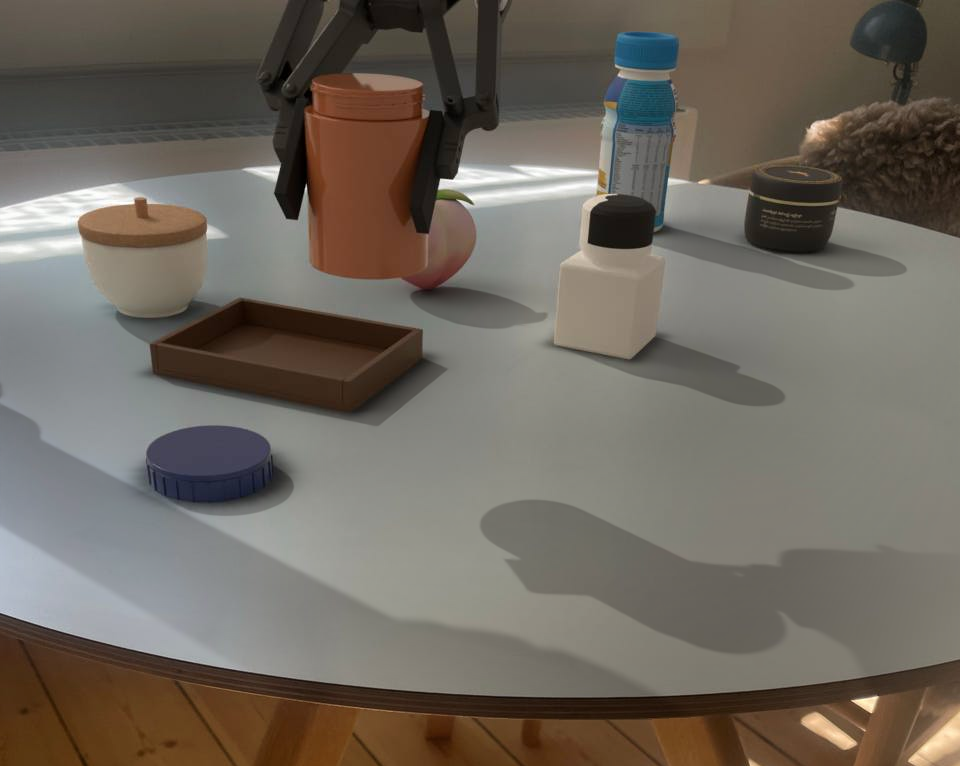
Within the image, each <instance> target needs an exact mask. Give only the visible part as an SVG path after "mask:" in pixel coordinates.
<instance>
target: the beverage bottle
mask: <svg viewBox="0 0 960 766" xmlns="http://www.w3.org/2000/svg"><path fill="white" fill-rule="evenodd" d="M679 41H680V38H679V37H678V36H677V35H674V34H669V33H663V32H656V31H655V32H654V31H623V32H619V33H618V34H617V37H616V41H615V52H614V67H615V68H616V69H618V70H619V72H618V74H617V75H616V76H615V77H614V78H613V80H612V82H611V84H610V85H609V87H608V89H607V91H606V94H605V97H604V99H603V106H604V108H605V115H604V117H603V118H602V120H601V122H600V127H599V136H600V138H601V139H600V149H599V162H598V173H597V183H596V184H597V187H596V195H595V196H598V195H603V194H624V195H631V196H636V197H640V198H642V199H644V200H646V201H648V202H649V203H651V204H652V205H653V206H654V208H655V209H656V217H655V225H654V233H657V232H658V231H660V230H661V229H662V228H663V226H664V222H665V221H664V220H665V207H666V200H667V199H666V198H667V191H668V185H669V177H670V170H671V161H672V153H673V147H674V142H675V139H676V136H677V125H676V123H675V115H676V113H677V112H678V111H679V99H678V94H677V91H676V87H675V84H674V83H673V80H672V79H671V76H670V73H672V72H674V71H676V68H677V66H678V65H677V64H678V57H679V48H680V42H679Z"/></svg>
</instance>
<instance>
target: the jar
mask: <svg viewBox="0 0 960 766" xmlns="http://www.w3.org/2000/svg"><path fill="white" fill-rule="evenodd" d="M842 188H843V178H842V177H841V176H840V175H839V174H838V173H835V172H833V171H831V170H827V169H822V168H817V167H812V166H805V165H795V164H767V165H762V166H758V167H756V168H755V169H754V170H753V171H752V173H751V177H750V180H749V187H748V190H747V191H748V192H747V193H748V196H747V203H746V208H745V215H744V221H743V227H744V229H743V230H744V238H745V239H746V241H747V243H748V244H749V245H751V246H753V247H754V248H758V249H760V250H764V251H768V252H773V253H779V254H791V255H807V254H809V255H810V254H815V253H818V252H821V251H822V250H823V249H824V248H825V247H826V246H827V245H828V243H829V241H830V238H831V237H832V233H833V232H834V231H833V230H834V225H835V221H836V215H837V211H838V205H839V202H841V193H842Z"/></svg>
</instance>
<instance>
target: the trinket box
mask: <svg viewBox="0 0 960 766" xmlns="http://www.w3.org/2000/svg"><path fill="white" fill-rule="evenodd" d="M133 201H134V202H133V203H129V204H116V205H111V206H105V207H100V208H96V209H93V210H90V211H87V212H85V213H83V214H82V215H81V216H80V217H79V218H78V220H77V225H78V226H77V227H78V233H79V235H80V237H81V244H82V250H83V256H84V260H85V264H86V268H87V270H88V272H89V275H90V278H91V280H92V282H93V283H94V285H95V287H96V289H97V290H98V291H99V293H100V294H101V295H102V296H103V297H104V298H105V299H106V300H107V301H108V302H109V303H111V304H112V305H113V306H115V307H116V309H117V311H118V312H119V313H121V314H122V315H125V316H127V317H128V316H129V317H132V318H141V319H157V318H158V319H160V318H166V317H171V316H177V315H180V314H182V313H183V312H185V311H186V310H187V309H188V307H189V306H188V305H189V304H190V303H191V301H192V300H193V299H194V298H195V297H196V296H197V294H198V293H199V291H200V290H201V288H202V286H203V283H204V281H205V277H206V272H207V267H208V265H207V264H208V238H207V231H208V221H207V218H206V216H205V215H204V214H203V213H202V212H199V211H198V210H195V209H192V208H189V207H185V206H179V205H172V204H162V203H148V200H147V197H144V196H143V197H142V196H139V197H134V198H133Z"/></svg>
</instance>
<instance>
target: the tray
mask: <svg viewBox="0 0 960 766" xmlns="http://www.w3.org/2000/svg"><path fill="white" fill-rule="evenodd" d="M423 341H424V330H423V328H418V327H417V328H416V327H413V326H407V325H401V324H395V323H389V322H385V321H384V322H383V321H377V320H371V319H366V318H359V317H354V316H349V315H342V314H338V313H336V314H335V313H332V312H327V311H320V310H314V309H308V308H303V307H298V306H297V307H296V306H292V305H285V304H280V303H275V302H274V303H273V302H270V301H269V302H268V301H262V300H256V299H250V298H244V297H238V298H236V299H234V300H232V301H230V302H227V303H226V304H223V306H221V307H218V308H216V309H214V310H213V311H210V312H209V313H207V314H205V315H203V316H200V317H198V318H197V319H195V320H193V321H191V322H189V323H187V324H185V325H183V326H181V327H179V328H177V329H175V330H173V331H171V332H170V333H167V334H165V335H163V336H161V337H160V338H157V339H156V340H154V341H151V342H150V343H149V352H150V360H151V368H152V374H153V375H158V376H163V377H167V378H173V379H178V380H182V381H187V382H193V383H198V384H203V385H208V386H212V387H219V388H221V389H222V388H224V389H226V390H227V389H229V390H231V391H238V392H243V393H248V394H252V395H253V394H254V395H258V396H262V397H268V398H272V399H278V400H283V401H288V402H293V403H298V404H302V405H308V406H314V407H318V408H322V409H328V410H333V411H338V412H343V413H348V414H351V413H353V412H354V411H356V410H357V409H358V408H359V407H360V406H362V405H363V404H364V403H365V402H367V401H368V400H369V399H371V398H372V397H374V396H375V395H376V394H377V393H379V392H380V391H381V390H383V389H384V388H385V387H386V386H388V385H389V384H391V383H392V382H393V381H395V380H396V379H397V378H398V377H400V376H401V375H402V374H404V373H405V372H406V371H408V370H410V368H412V367H414V365H416V363H418V362H419V361H421V360H422V359H423V355H424V354H423V350H424V349H423V347H424V345H423V344H424V342H423Z"/></svg>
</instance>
